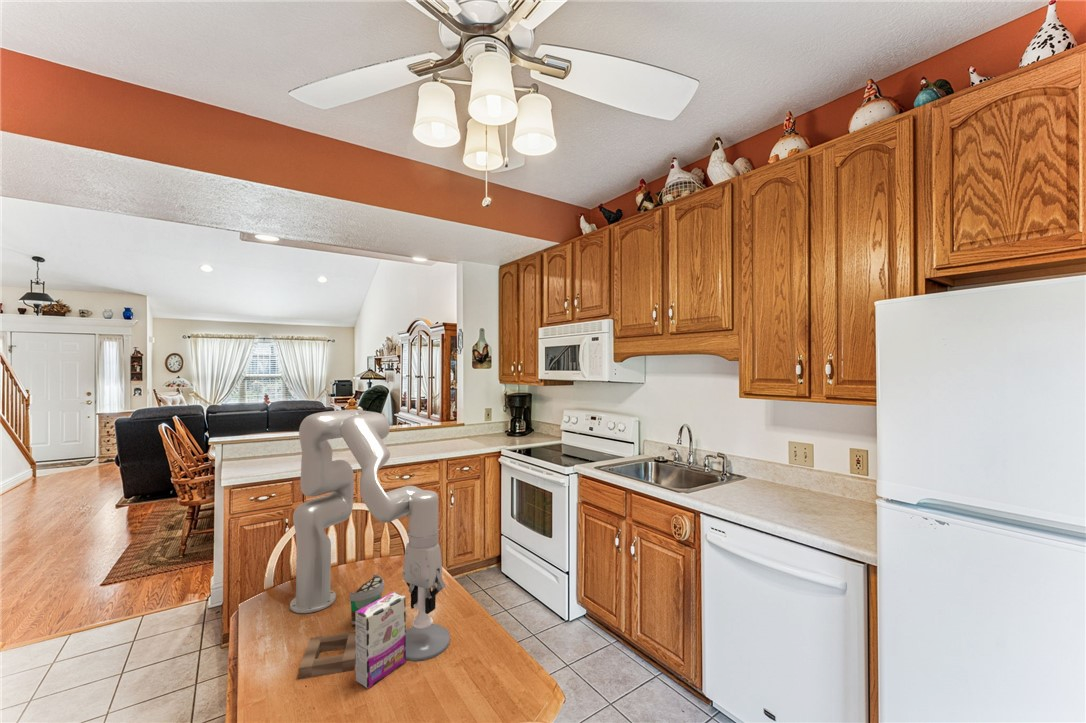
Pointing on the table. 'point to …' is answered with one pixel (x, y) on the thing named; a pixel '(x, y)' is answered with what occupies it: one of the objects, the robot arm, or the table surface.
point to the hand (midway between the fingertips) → (423, 608)
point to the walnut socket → (331, 664)
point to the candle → (421, 611)
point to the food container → (366, 595)
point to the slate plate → (426, 642)
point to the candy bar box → (380, 638)
